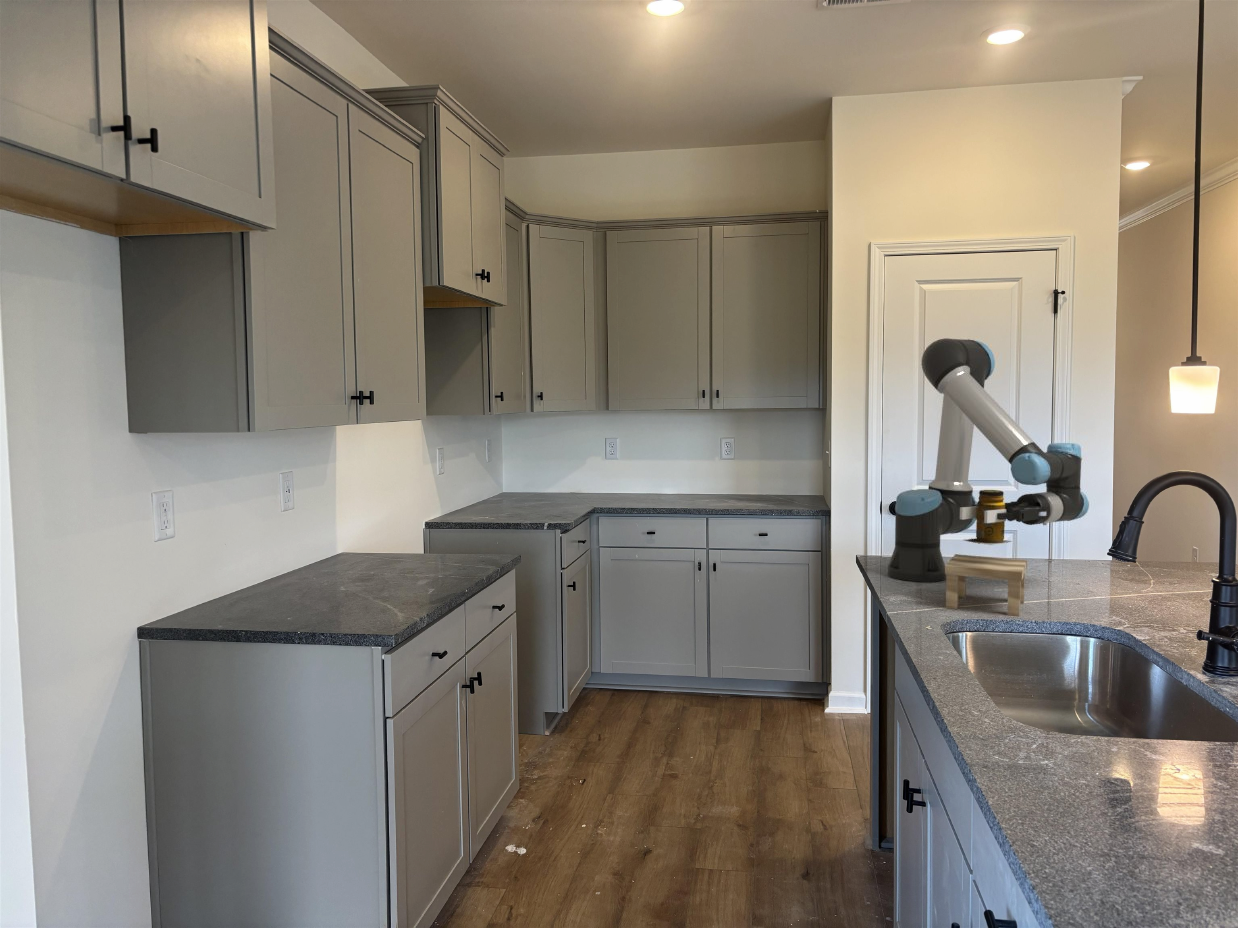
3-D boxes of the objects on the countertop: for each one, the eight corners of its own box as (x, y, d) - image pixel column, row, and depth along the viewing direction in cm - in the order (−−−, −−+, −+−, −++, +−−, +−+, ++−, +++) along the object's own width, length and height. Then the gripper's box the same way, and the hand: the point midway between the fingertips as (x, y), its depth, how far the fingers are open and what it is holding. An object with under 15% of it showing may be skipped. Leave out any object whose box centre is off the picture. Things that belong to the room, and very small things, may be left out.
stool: (954, 593, 206) (955, 554, 206) (1025, 601, 198) (1026, 560, 198) (944, 607, 193) (945, 565, 192) (1020, 616, 185) (1021, 572, 184)
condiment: (1012, 542, 194) (1013, 491, 193) (990, 545, 189) (992, 493, 188) (983, 537, 200) (984, 488, 199) (962, 541, 195) (963, 490, 194)
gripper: (1074, 528, 194) (1009, 537, 183) (1003, 519, 211) (939, 526, 200) (1075, 497, 194) (1010, 503, 183) (1003, 489, 210) (940, 495, 199)
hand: (973, 515), depth 191 cm, fingers closed on condiment, 6 cm apart
